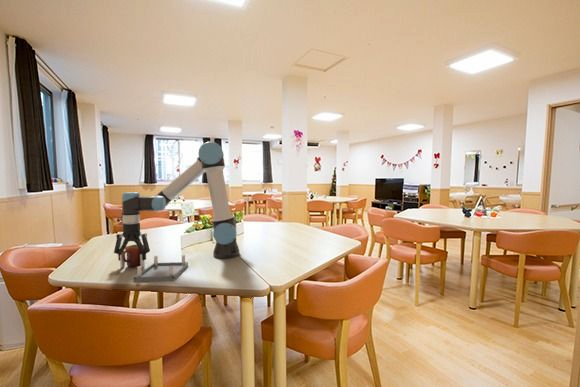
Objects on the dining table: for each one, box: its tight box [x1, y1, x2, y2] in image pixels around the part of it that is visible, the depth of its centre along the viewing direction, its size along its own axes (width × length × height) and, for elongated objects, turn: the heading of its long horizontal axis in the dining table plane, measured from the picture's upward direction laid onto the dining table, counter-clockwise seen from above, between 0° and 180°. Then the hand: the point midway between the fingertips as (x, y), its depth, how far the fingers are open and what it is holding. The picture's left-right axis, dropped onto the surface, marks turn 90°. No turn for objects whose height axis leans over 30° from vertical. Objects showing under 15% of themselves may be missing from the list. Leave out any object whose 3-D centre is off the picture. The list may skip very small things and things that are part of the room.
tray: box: [133, 254, 189, 283], centre depth 125 cm, size 17×20×6 cm
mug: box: [122, 244, 144, 269], centre depth 133 cm, size 12×9×10 cm
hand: (132, 266), depth 133 cm, fingers open, 9 cm apart
